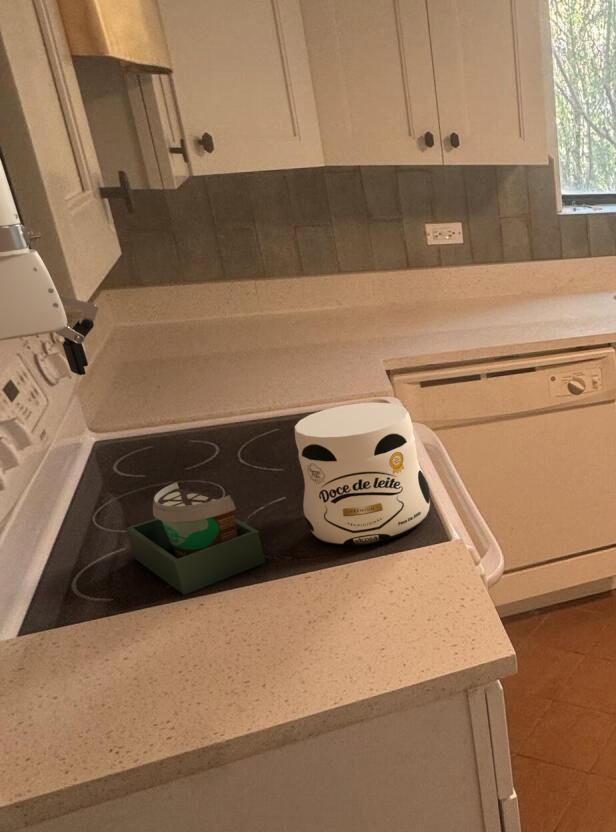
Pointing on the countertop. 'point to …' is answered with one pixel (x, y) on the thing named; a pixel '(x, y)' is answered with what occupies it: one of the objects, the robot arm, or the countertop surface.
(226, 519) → the food container
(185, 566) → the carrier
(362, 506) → the milk container
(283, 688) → the countertop surface
